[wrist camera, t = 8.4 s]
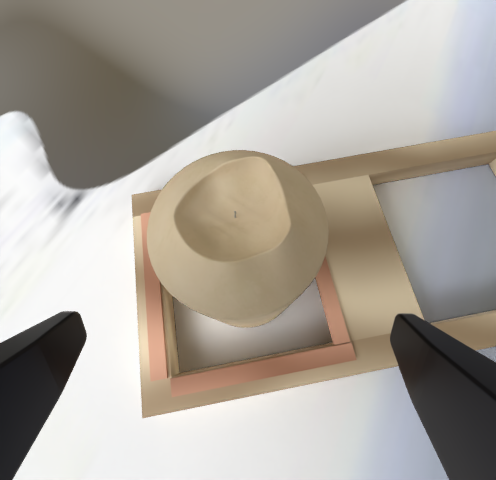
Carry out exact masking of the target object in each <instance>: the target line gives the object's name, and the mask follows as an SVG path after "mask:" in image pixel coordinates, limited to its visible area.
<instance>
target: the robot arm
mask: <svg viewBox="0 0 496 480" xmlns="http://www.w3.org/2000/svg"><path fill="white" fill-rule="evenodd" d="M86 337H87V334H86V330H85V327H84V324H83V321H82V318H81V316H80V314H79V313H78V312H75V311H64V312H60V313H58V314H56V315H54V316H52V317H50V318H48V319H47V320H45V321H43V322H41V323H39V324H37V325H35V326H33V327H31V328H29V329H27V330H25V331H23V332H21V333H19V334H17V335H15V336H13V337H11V338H9V339H7V340H5V341H4V342H2V343H0V480H13V478H14V476H15V474H16V473H17V471H18V469H19V467H20V466H21V464H22V462H23V460H24V459H25V457H26V455H27V453H28V452H29V450H30V448H31V446H32V445H33V443H34V441H35V439H36V438H37V436H38V434H39V432H40V431H41V429H42V427H43V425H44V424H45V422H46V420H47V419H48V417H49V415H50V413H51V412H52V410H53V408H54V406H55V405H56V403H57V401H58V399H59V397H60V395H61V394H62V391H63V389H64V387H65V385H66V383H67V381H68V379H69V377H70V375H71V372H72V370H73V368H74V366H75V364H76V361H77V359H78V357H79V355H80V353H81V351H82V348H83V346H84V344H85V342H86ZM390 343H391V346H392V349H393V352H394V355H395V357H396V360H397V363H398V366H399V368H400V371H401V374H402V377H403V379H404V382H405V385H406V388H407V390H408V393H409V395H410V398H411V400H412V403H413V405H414V407H415V409H416V411H417V413H418V415H419V418H420V420H421V422H422V424H423V426H424V428H425V430H426V432H427V434H428V436H429V438H430V441H431V443H432V445H433V447H434V449H435V451H436V453H437V455H438V457H439V459H440V461H441V463H442V466H443V468H444V470H445V472H446V474H447V476H448V478H449V480H496V362H494V361H492V360H490V359H489V358H487V357H485V356H484V355H482V354H480V353H479V352H477V351H475V350H474V349H472V348H470V347H469V346H467V345H465V344H464V343H462V342H460V341H459V340H457V339H455V338H453V337H452V336H450V335H448V334H447V333H445V332H443V331H442V330H440V329H438V328H437V327H435V326H433V325H432V324H430V323H428V322H427V321H425V320H423V319H422V318H420V317H418V316H416V315H415V314H411V313H399V314H397V315H396V316H395V319H394V323H393V326H392V330H391V334H390Z"/></svg>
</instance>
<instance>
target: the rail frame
mask: <svg viewBox="0 0 496 480" xmlns="http://www.w3.org/2000/svg"><path fill="white" fill-rule="evenodd" d="M486 164H489V166H490V167H491V169H492V171H493V173H494V175H495V176H496V131H492V132H486V133H480V134H475V135H469V136H463V137H458V138H452V139H446V140H441V141H435V142H429V143H424V144H418V145H412V146H406V147H401V148H395V149H389V150H384V151H378V152H372V153H367V154H361V155H355V156H350V157H344V158H338V159H333V160H327V161H321V162H316V163H310V164H304V165H299V166H293V167H294V168H296V169H297V170H298V171H299V172H301V173H302V174H303V175H304V176H305V177H306V178H307V179H308V180H309V181H310V183H311V184H312V185H313V187H314V188H315V189H316V191H317V193H318V195H319V196H320V198H321V200H322V203H323V206H324V208H325V212H326V216H327V220H328V230H329V233H328V245H327V250H326V255H325V258H324V261H323V263H322V266H321V268H320V270H319V272H318V274H317V276H316V277H315V279H316V282H317V286H318V290H319V293H320V297H321V301H322V304H323V308H324V312H325V316H326V319H327V323H328V327H329V330H330V334H331V338H332V341H333V342H332V343H327V344H322V345H317V346H312V347H307V348H302V349H297V350H292V351H287V352H282V353H277V354H272V355H267V356H262V357H257V358H252V359H246V360H241V361H236V362H231V363H226V364H221V365H216V366H211V367H206V368H201V369H196V370H191V371H186V372H181V373H179V362H178V351H177V340H176V329H175V318H174V307H173V296H172V295H171V294H170V293H169V292H168V291H167V289H166V288H165V287H164V286H163V285H162V283H161V282H160V280H159V279H158V277H157V275H156V273H155V271H154V269H153V267H152V265H151V261H150V258H149V254H148V248H147V227H148V220H149V217H150V213H151V210H152V207H153V205H154V203H155V200H156V199H157V197H158V195H159V194H160V192H161V190H157V191H151V192H145V193H140V194H134V195H132V212H133V232H134V253H135V274H136V294H137V315H138V336H139V356H140V377H141V398H142V418H146V417H151V416H156V415H161V414H166V413H171V412H176V411H181V410H185V409H190V408H195V407H200V406H205V405H210V404H215V403H220V402H225V401H230V400H234V399H239V398H244V397H249V396H254V395H259V394H264V393H269V392H274V391H278V390H283V389H288V388H293V387H298V386H303V385H308V384H313V383H318V382H323V381H327V380H332V379H337V378H342V377H347V376H352V375H357V374H362V373H367V372H372V371H376V370H381V369H386V368H391V367H396V366H398V363H397V360H396V357H395V355H394V352H393V349H392V346H391V343H390V334H391V330H392V326H393V323H394V319H395V316H396V315H397V314H399V313H411V314H415V315H416V316H418V317H420V318H422V319H423V320H424V318H423V315H422V312H421V310H420V307H419V305H418V302H417V299H416V297H415V294H414V292H413V289H412V286H411V284H410V281H409V279H408V276H407V273H406V271H405V268H404V266H403V263H402V260H401V258H400V255H399V253H398V250H397V248H396V245H395V242H394V240H393V237H392V235H391V232H390V229H389V227H388V224H387V222H386V219H385V216H384V214H383V211H382V209H381V206H380V203H379V201H378V198H377V196H376V193H375V190H374V188H373V185H375V184H380V183H386V182H391V181H397V180H402V179H408V178H414V177H419V176H425V175H430V174H436V173H441V172H447V171H452V170H458V169H463V168H469V167H475V166H480V165H486ZM430 324H432V325H433V326H435V327H437V328H438V329H440V330H442V331H443V332H445V333H447V334H448V335H450V336H452V337H453V338H455V339H457V340H459V341H460V342H462V343H464V344H465V345H467V346H469V347H470V348H472V349H474V350H479V349H484V348H489V347H494V346H496V310H492V311H487V312H482V313H477V314H472V315H467V316H462V317H457V318H452V319H447V320H442V321H437V322H432V323H430Z"/></svg>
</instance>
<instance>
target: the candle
mask: <svg viewBox="0 0 496 480" xmlns="http://www.w3.org/2000/svg"><path fill="white" fill-rule="evenodd" d="M328 233H329V230H328V220H327V216H326V212H325V208H324V206H323V203H322V200H321V198H320V196H319V195H318V193H317V191H316V189H315V188H314V187H313V185H312V184H311V183H310V181H309V180H308V179H307V178H306V177H305V176H304V175H303V174H302V173H301V172H299V171H298V170H297V169H296V168H294V167H293V166H291V165H290V164H288V163H287V162H285V161H283V160H281V159H279V158H276V157H274V156H271V155H268V154H265V153H260V152H255V151H246V150H233V151H225V152H219V153H215V154H211V155H209V156H206V157H203V158H201V159H199V160H197V161H194V162H192V163H191V164H189V165H188V166H186V167H185V168H183V169H182V170H181V171H179V172H178V173H177V174H176V175H175V176H174V177H173V178H172V179H171V180H170V181H169V182H168V183H167V184H166V185H165V187H164V188H163V189H162V190H161V192H160V194H159V195H158V197H157V199H156V200H155V203H154V205H153V207H152V210H151V213H150V217H149V220H148V227H147V248H148V254H149V258H150V261H151V265H152V267H153V269H154V271H155V273H156V275H157V277H158V279H159V280H160V282H161V283H162V285H163V286H164V287H165V288H166V289H167V291H168V292H169V293H170V294H171V295H172V296H173V297H175V298H176V299H177V300H178V301H179V302H181V303H182V304H184V305H185V306H187V307H188V308H190V309H192V310H194V311H196V312H199V313H201V314H203V315H206V316H208V317H211V318H213V319H216V320H218V321H221V322H223V323H226V324H229V325H232V326H235V327H242V328H250V327H257V326H260V325H263V324H265V323H268V322H270V321H271V320H273V319H275V318H276V317H277V316H278V315H280V314H281V313H282V312H283V311H284V310H285V309H286V308H287V307H288V306H289V305H290V304H291V303H293V302H294V301H295V300H296V299H297V298H298V297H299V296H300V295H301V294H302V293H303V292H304V291H305V290H306V289H307V288H308V287H309V285H310V284H311V283H312V281H313V280H314V278H315V277H316V276H317V274H318V272H319V270H320V268H321V266H322V263H323V261H324V258H325V255H326V250H327V245H328Z"/></svg>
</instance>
